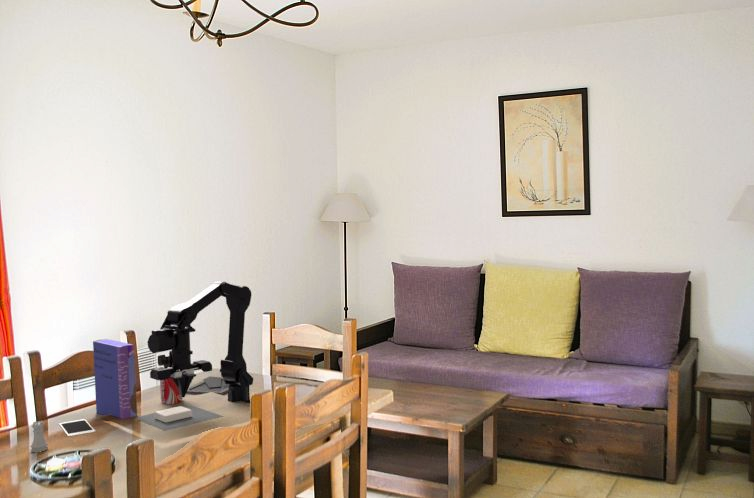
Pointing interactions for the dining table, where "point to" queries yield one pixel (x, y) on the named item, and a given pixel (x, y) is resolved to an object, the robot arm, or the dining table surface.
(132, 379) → the cereal box
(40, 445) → the rook chess piece
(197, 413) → the mat
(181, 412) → the tile
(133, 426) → the dining table surface
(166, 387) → the soda can
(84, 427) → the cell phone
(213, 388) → the grey angular slab
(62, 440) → the dining table surface
